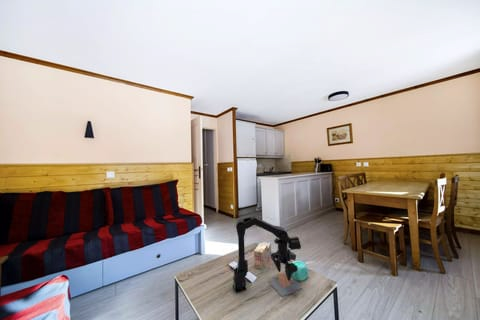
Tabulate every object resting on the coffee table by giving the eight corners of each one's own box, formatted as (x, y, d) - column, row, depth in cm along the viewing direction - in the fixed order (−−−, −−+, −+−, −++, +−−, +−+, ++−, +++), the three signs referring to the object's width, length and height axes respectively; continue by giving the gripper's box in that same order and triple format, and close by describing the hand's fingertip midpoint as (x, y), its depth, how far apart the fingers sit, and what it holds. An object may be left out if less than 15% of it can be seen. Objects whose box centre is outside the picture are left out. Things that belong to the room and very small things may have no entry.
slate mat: (281, 297, 95) (281, 295, 95) (268, 281, 108) (268, 280, 108) (301, 288, 100) (301, 287, 100) (286, 274, 113) (286, 274, 113)
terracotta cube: (283, 288, 101) (283, 279, 101) (278, 282, 105) (277, 274, 106) (290, 285, 103) (289, 276, 103) (285, 280, 107) (284, 272, 108)
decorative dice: (308, 278, 109) (307, 265, 109) (299, 282, 106) (298, 269, 106) (299, 271, 116) (298, 259, 117) (289, 275, 113) (289, 262, 113)
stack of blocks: (264, 253, 142) (263, 238, 142) (271, 254, 139) (270, 239, 139) (254, 268, 123) (253, 250, 123) (263, 270, 120) (262, 252, 120)
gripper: (304, 253, 99) (306, 281, 99) (284, 240, 116) (285, 264, 116) (288, 258, 95) (290, 287, 94) (269, 244, 112) (271, 269, 112)
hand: (284, 276), depth 104 cm, fingers open, 9 cm apart
